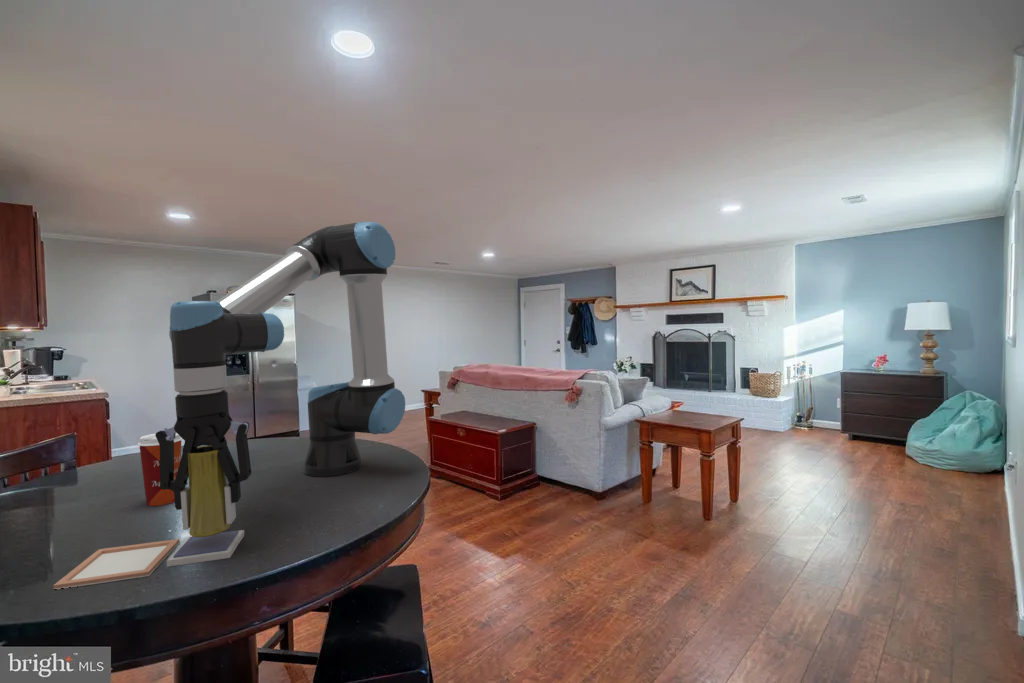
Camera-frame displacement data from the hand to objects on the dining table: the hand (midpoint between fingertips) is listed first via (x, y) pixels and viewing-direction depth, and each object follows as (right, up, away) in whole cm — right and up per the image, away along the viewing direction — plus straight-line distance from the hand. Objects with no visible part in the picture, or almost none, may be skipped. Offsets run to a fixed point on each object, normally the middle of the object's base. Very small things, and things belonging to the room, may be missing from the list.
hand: (210, 523), depth 82 cm
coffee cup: (-26, -5, +24) cm, 36 cm away
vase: (0, -1, 0) cm, 1 cm away
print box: (-11, -5, -5) cm, 13 cm away
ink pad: (0, -4, 0) cm, 5 cm away
